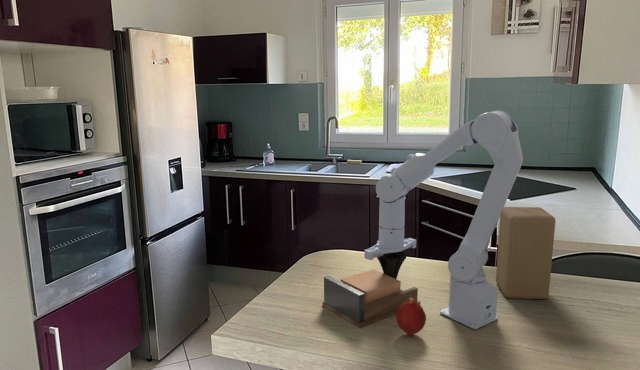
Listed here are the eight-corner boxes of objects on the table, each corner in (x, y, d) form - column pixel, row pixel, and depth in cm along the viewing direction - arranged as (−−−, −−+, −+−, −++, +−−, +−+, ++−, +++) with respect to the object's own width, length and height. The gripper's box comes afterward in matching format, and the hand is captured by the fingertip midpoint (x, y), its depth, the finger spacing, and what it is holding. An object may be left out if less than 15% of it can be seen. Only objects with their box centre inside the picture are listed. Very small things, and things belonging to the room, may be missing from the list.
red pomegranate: (405, 325, 103) (406, 289, 101) (430, 333, 99) (431, 296, 98) (390, 335, 99) (391, 298, 97) (416, 345, 95) (417, 306, 93)
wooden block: (535, 283, 124) (542, 206, 120) (549, 301, 114) (557, 217, 110) (494, 282, 125) (499, 205, 121) (505, 299, 115) (511, 216, 111)
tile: (400, 293, 111) (400, 281, 110) (366, 305, 105) (366, 292, 104) (373, 281, 118) (373, 269, 117) (340, 291, 112) (340, 279, 112)
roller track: (420, 304, 112) (421, 275, 111) (360, 327, 102) (360, 296, 101) (380, 286, 123) (381, 259, 121) (322, 305, 112) (322, 276, 111)
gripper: (401, 217, 120) (400, 270, 122) (355, 227, 111) (355, 284, 114) (423, 223, 114) (421, 279, 117) (376, 235, 106) (375, 294, 108)
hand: (390, 282), depth 115 cm, fingers closed
